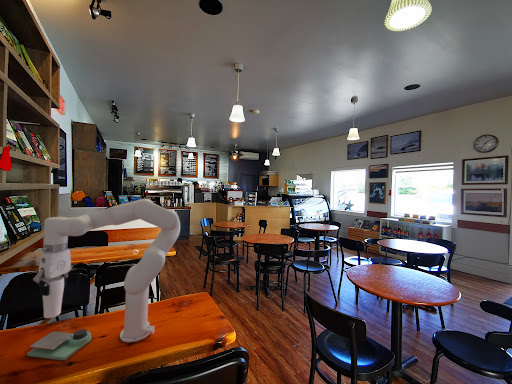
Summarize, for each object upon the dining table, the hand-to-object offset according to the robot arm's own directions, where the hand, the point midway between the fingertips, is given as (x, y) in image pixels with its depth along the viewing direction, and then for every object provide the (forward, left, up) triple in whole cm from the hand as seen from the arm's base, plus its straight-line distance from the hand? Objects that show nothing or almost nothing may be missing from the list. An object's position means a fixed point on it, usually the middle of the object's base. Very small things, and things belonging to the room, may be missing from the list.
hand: (53, 290), depth 96 cm
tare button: (-8, -5, -21) cm, 23 cm away
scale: (-3, -1, -24) cm, 24 cm away
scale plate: (0, 0, -21) cm, 21 cm away
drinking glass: (0, 0, -10) cm, 10 cm away
